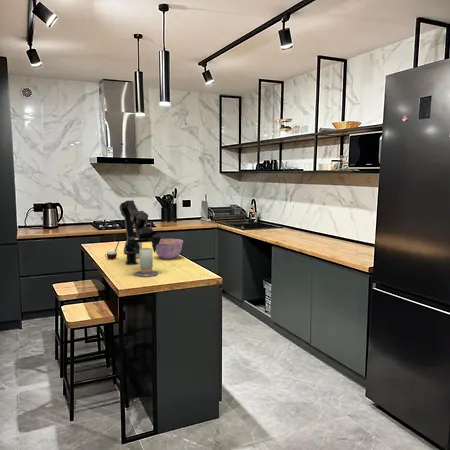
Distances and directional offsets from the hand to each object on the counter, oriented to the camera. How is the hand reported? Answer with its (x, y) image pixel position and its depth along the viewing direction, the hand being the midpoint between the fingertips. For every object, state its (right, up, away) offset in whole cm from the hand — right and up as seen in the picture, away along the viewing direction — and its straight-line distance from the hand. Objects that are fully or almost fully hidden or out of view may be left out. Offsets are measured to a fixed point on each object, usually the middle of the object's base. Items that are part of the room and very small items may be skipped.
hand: (146, 252), depth 234 cm
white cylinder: (-1, -8, +2) cm, 8 cm away
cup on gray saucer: (-1, -12, +3) cm, 13 cm away
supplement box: (-17, -7, +50) cm, 53 cm away
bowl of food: (+5, -7, +49) cm, 50 cm away
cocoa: (-31, -7, +44) cm, 55 cm away
